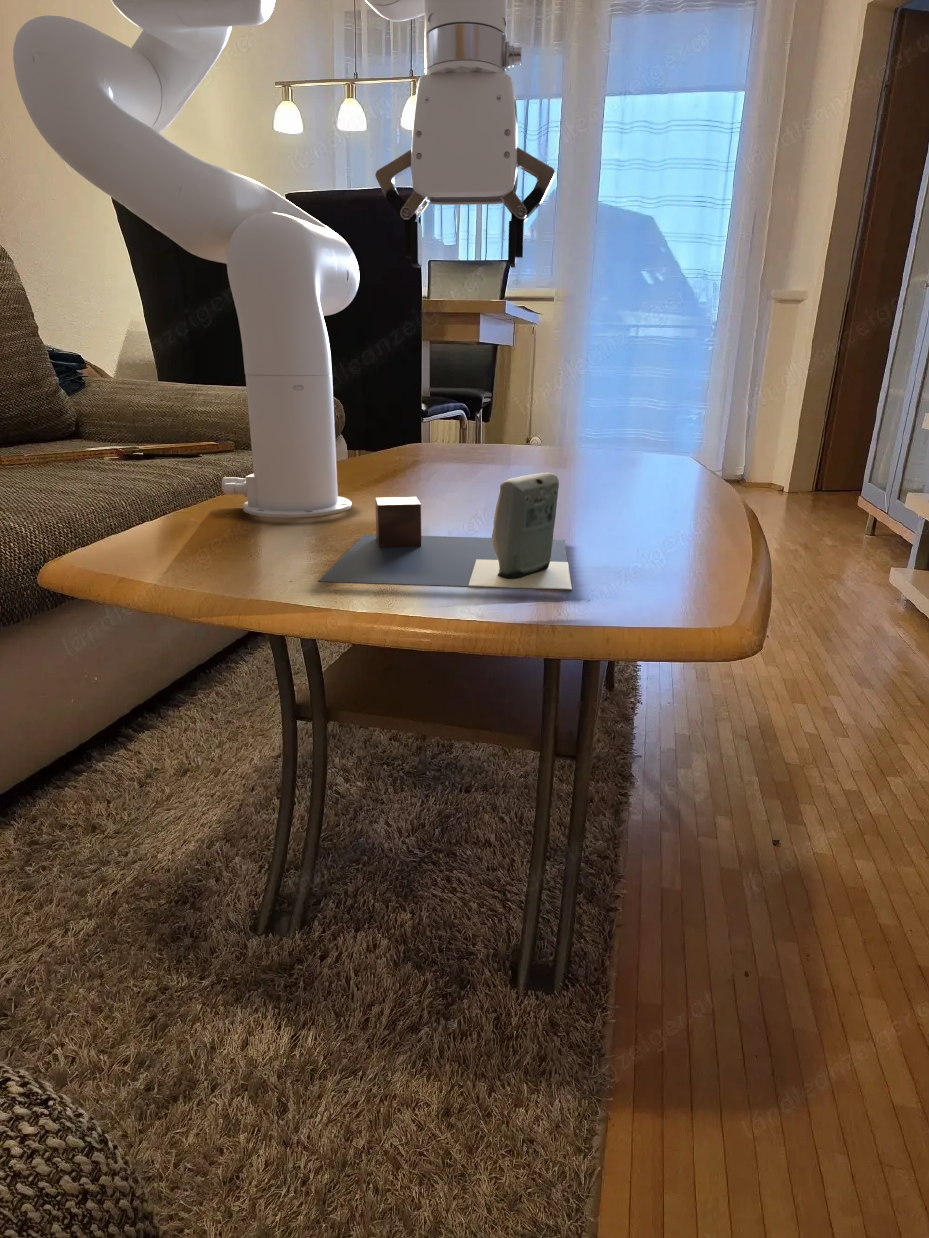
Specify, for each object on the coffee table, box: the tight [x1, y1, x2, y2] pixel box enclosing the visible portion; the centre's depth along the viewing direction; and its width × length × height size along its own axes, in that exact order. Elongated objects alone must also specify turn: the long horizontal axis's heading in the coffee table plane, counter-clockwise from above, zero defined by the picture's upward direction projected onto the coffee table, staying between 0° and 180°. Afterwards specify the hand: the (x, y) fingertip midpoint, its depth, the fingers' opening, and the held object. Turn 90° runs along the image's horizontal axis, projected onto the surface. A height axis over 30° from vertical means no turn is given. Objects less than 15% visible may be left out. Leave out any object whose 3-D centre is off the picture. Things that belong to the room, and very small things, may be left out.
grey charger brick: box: [491, 472, 560, 579], centre depth 61 cm, size 6×5×8 cm
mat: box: [317, 533, 573, 591], centre depth 67 cm, size 20×17×1 cm
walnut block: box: [374, 496, 422, 547], centre depth 72 cm, size 4×4×4 cm
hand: (464, 266), depth 76 cm, fingers open, 9 cm apart
